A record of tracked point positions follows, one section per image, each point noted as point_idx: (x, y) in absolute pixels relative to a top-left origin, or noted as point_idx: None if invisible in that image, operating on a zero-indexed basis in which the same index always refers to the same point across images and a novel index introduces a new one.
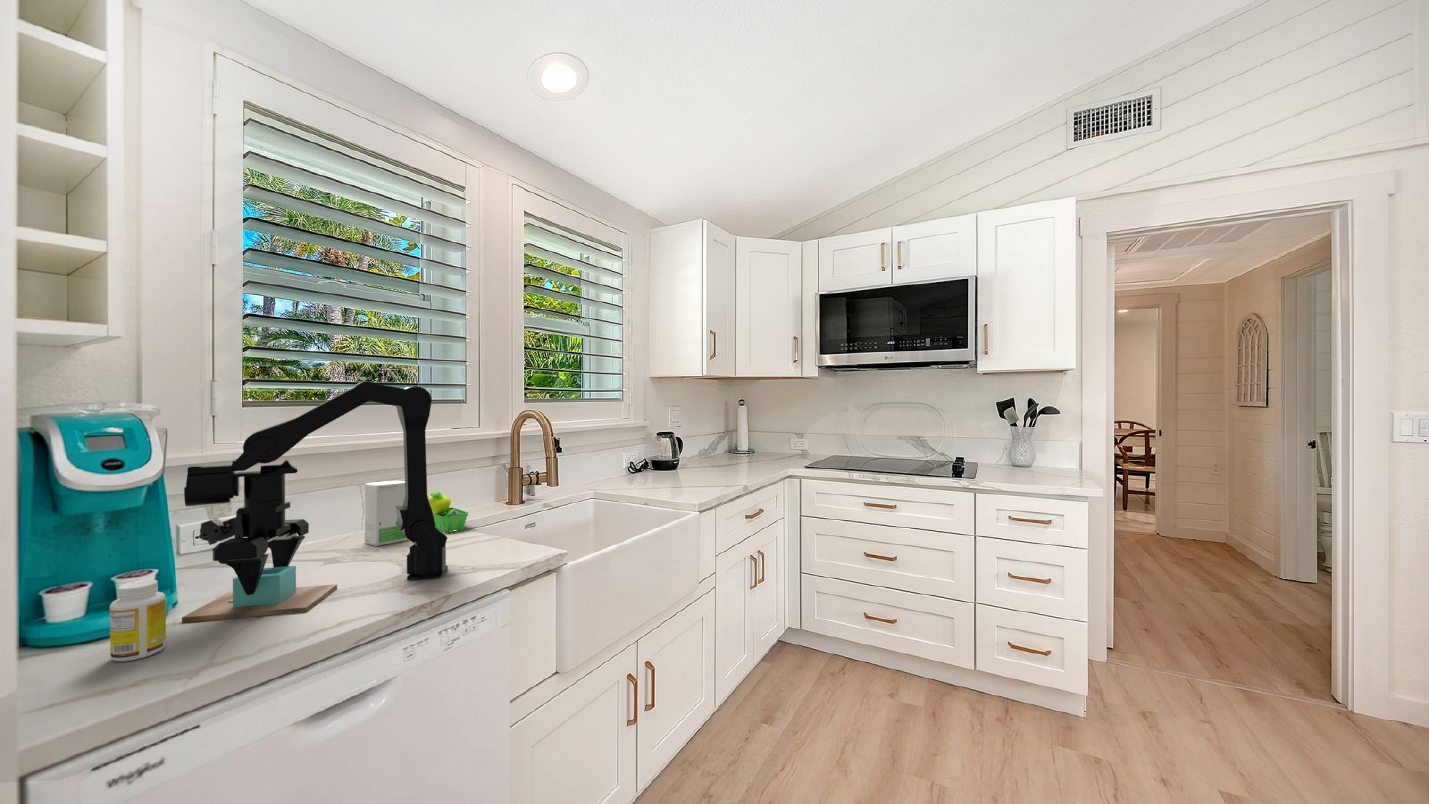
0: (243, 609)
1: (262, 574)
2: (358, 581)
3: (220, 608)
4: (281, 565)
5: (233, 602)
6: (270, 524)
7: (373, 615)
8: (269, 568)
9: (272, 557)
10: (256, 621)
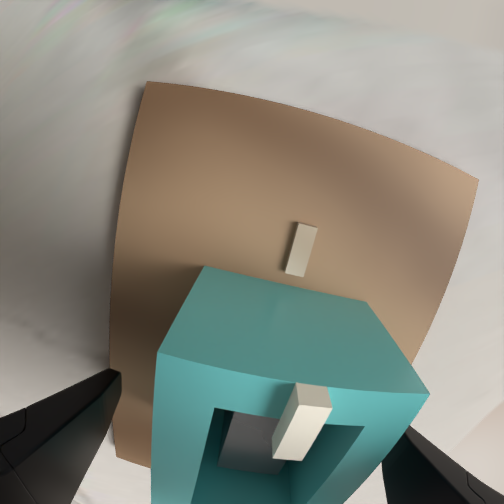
0: (145, 317)
1: (335, 435)
2: (355, 499)
3: (208, 212)
4: (399, 482)
5: (198, 276)
6: None
7: (82, 496)
8: (349, 476)
9: (449, 491)
10: (70, 354)
